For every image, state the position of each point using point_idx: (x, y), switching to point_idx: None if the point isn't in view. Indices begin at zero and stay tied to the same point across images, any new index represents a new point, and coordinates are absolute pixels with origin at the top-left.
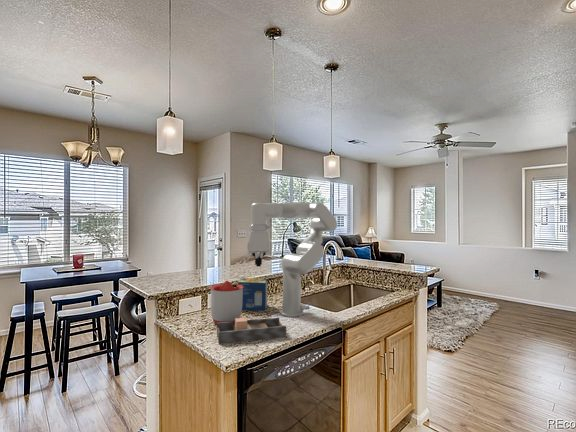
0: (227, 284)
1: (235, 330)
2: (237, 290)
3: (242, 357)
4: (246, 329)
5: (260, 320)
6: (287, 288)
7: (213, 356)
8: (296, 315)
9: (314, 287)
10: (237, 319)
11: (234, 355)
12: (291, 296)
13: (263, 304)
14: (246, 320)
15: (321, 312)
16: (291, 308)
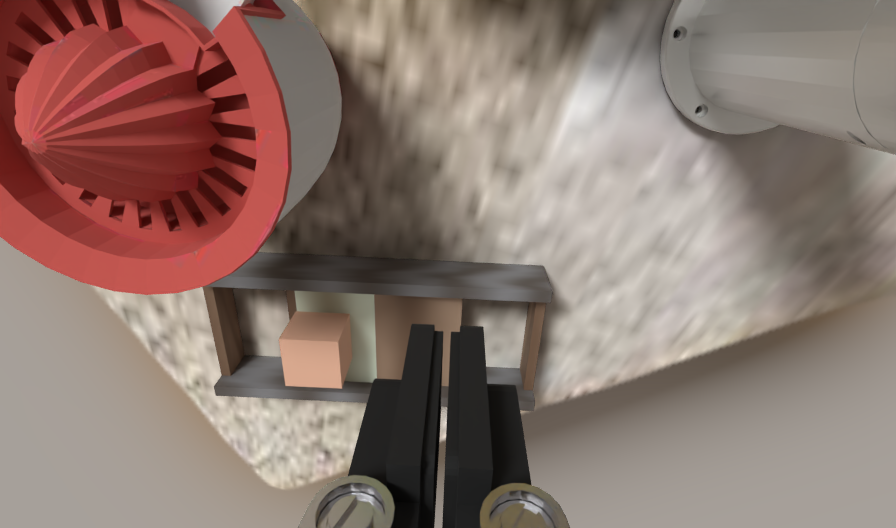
0: (82, 177)
1: (290, 392)
2: (231, 266)
3: (324, 469)
4: (341, 395)
5: (437, 295)
6: (833, 114)
7: (228, 441)
8: (740, 133)
9: None
10: (291, 358)
11: (298, 452)
12: (805, 128)
13: None
14: (338, 381)
15: None
16: (742, 113)
